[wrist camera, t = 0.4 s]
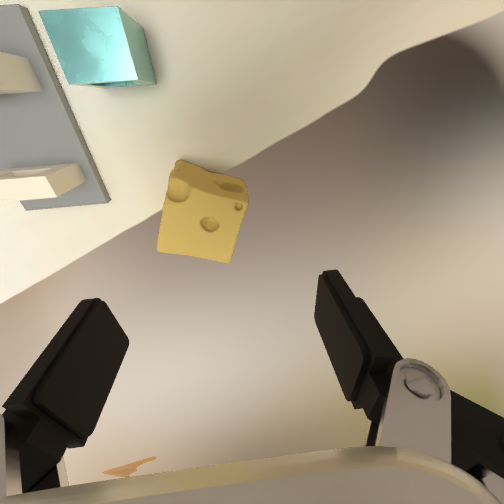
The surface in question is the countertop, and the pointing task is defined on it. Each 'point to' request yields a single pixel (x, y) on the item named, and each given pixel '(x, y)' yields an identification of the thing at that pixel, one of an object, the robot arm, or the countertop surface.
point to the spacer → (99, 47)
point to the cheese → (202, 213)
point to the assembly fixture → (39, 126)
